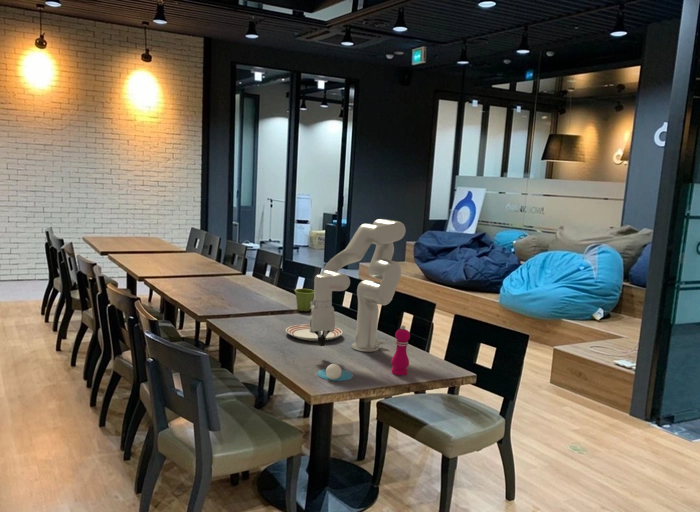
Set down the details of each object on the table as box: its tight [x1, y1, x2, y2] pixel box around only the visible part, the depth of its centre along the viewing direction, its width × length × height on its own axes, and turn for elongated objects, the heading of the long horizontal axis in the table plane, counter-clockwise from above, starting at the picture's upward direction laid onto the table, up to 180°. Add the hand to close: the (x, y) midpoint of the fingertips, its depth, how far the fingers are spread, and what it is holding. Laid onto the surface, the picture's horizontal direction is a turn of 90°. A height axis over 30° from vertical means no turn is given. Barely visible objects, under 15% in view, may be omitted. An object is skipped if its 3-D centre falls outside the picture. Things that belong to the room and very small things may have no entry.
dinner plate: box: [285, 323, 343, 342], centre depth 292 cm, size 28×27×3 cm
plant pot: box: [294, 288, 314, 312], centre depth 344 cm, size 12×12×11 cm
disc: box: [316, 368, 354, 382], centre depth 238 cm, size 14×14×1 cm
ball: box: [325, 363, 342, 380], centre depth 232 cm, size 6×6×6 cm
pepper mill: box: [390, 325, 411, 376], centre depth 244 cm, size 7×7×20 cm
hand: (321, 345), depth 259 cm, fingers closed
